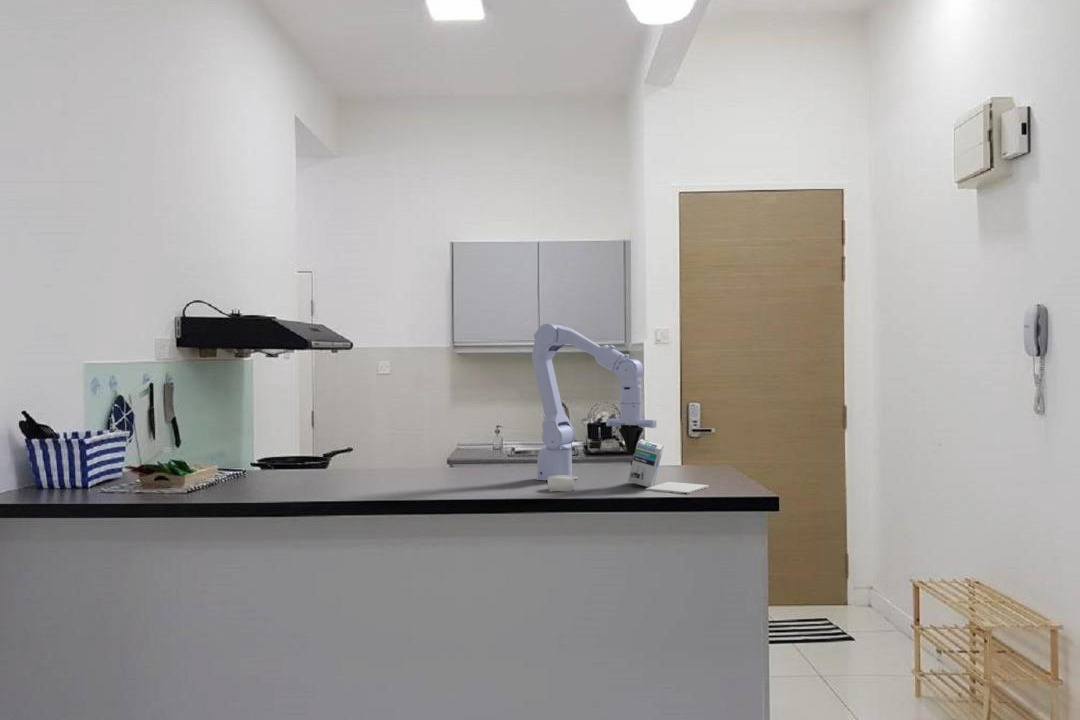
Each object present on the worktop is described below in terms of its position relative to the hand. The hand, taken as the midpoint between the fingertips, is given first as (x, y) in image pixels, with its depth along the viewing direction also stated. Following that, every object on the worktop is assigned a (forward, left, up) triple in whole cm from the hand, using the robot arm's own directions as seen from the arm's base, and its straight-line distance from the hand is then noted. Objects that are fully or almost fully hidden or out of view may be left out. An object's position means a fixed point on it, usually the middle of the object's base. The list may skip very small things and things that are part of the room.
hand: (631, 453), depth 239 cm
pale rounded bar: (-12, -17, -9) cm, 22 cm away
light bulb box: (+3, 0, -8) cm, 8 cm away
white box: (+14, 0, -8) cm, 16 cm away
